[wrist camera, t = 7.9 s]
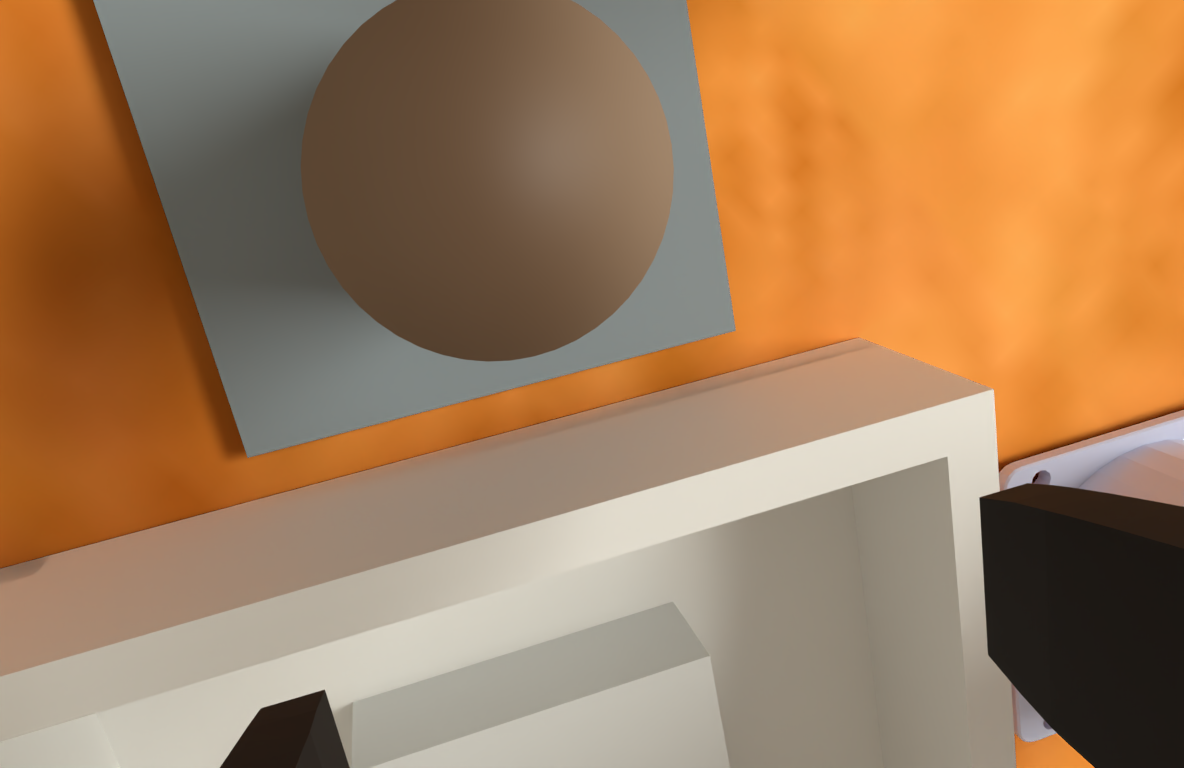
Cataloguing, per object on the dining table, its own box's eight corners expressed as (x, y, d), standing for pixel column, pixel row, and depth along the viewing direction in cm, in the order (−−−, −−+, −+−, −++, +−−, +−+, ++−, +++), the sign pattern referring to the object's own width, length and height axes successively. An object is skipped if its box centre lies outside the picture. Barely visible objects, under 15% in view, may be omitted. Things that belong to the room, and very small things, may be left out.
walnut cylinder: (545, 16, 16) (643, -52, 10) (589, 260, 17) (697, 317, 12) (292, 59, 15) (250, 13, 10) (360, 311, 17) (357, 399, 11)
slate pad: (656, -143, 16) (664, -150, 16) (728, 326, 19) (735, 330, 19) (80, -53, 14) (72, -59, 14) (250, 450, 17) (247, 458, 17)
